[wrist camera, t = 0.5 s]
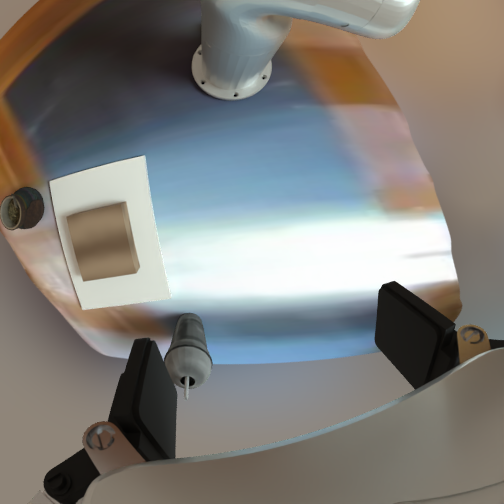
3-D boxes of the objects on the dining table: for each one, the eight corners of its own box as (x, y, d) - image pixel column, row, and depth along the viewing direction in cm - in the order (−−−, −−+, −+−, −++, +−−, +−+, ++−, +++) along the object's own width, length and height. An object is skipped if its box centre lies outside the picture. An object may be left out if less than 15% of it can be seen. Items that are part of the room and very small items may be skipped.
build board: (51, 181, 37) (49, 181, 36) (145, 155, 39) (144, 155, 38) (84, 307, 44) (82, 309, 44) (171, 296, 47) (171, 298, 46)
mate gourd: (16, 213, 37) (-16, 224, 27) (29, 176, 36) (-3, 181, 26) (40, 232, 39) (10, 247, 29) (54, 195, 38) (23, 203, 28)
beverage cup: (172, 340, 49) (164, 421, 30) (167, 306, 47) (153, 385, 28) (210, 338, 50) (218, 420, 32) (208, 305, 48) (214, 384, 29)
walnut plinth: (73, 213, 39) (66, 216, 36) (126, 201, 40) (120, 203, 37) (89, 274, 42) (83, 281, 39) (140, 266, 43) (136, 273, 40)
